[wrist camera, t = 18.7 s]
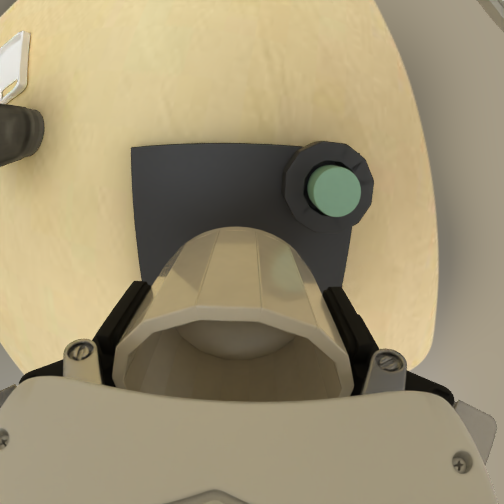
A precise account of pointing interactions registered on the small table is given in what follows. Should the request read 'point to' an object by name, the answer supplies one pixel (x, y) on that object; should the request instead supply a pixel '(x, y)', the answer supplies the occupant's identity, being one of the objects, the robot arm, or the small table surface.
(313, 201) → the button
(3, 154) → the beverage cup
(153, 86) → the small table surface
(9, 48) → the phone case
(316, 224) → the scale
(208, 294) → the beige cup
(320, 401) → the robot arm
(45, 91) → the small table surface
